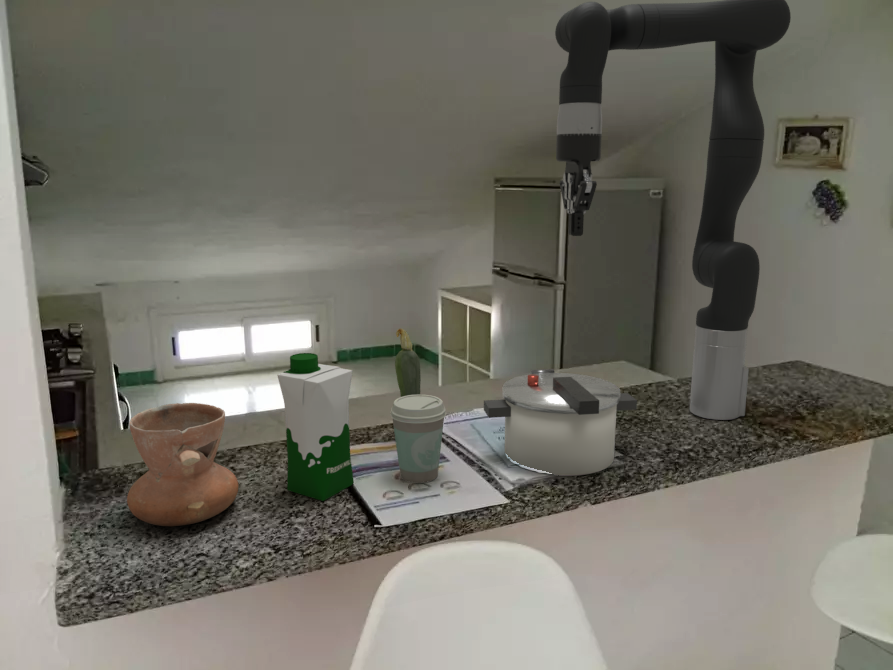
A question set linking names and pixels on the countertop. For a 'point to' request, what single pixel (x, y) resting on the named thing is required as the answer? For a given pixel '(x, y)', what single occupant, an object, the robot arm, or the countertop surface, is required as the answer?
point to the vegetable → (407, 367)
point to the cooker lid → (561, 392)
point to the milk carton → (317, 426)
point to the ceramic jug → (180, 465)
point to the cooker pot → (559, 437)
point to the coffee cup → (418, 436)
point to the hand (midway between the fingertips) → (575, 235)
